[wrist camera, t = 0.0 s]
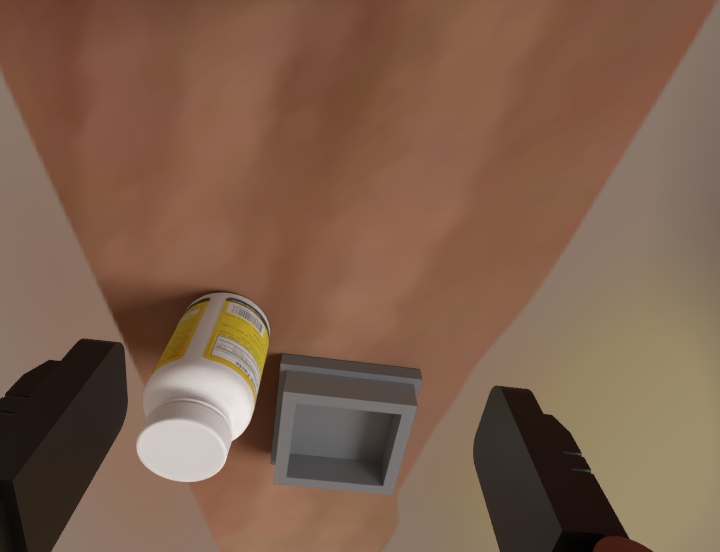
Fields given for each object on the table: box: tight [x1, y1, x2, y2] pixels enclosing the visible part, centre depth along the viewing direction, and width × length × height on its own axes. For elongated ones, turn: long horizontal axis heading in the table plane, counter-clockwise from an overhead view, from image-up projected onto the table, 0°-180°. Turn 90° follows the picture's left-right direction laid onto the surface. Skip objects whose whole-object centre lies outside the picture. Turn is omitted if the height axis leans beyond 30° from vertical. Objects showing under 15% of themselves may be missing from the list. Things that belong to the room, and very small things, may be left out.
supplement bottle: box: [136, 292, 270, 482], centre depth 26 cm, size 5×5×10 cm
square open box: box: [270, 354, 422, 495], centre depth 33 cm, size 9×9×3 cm
